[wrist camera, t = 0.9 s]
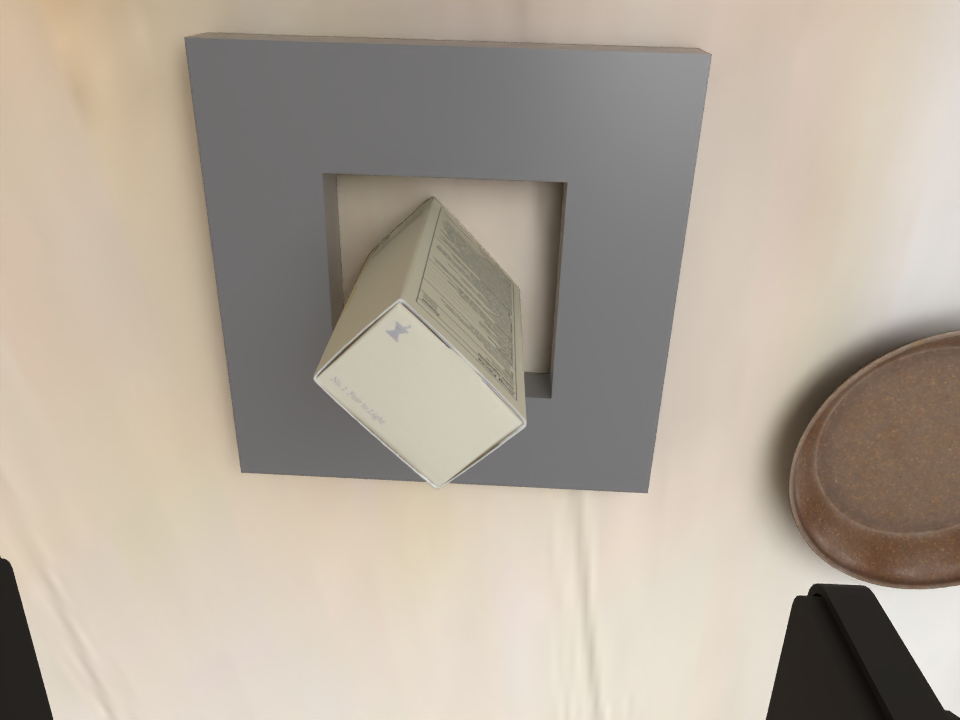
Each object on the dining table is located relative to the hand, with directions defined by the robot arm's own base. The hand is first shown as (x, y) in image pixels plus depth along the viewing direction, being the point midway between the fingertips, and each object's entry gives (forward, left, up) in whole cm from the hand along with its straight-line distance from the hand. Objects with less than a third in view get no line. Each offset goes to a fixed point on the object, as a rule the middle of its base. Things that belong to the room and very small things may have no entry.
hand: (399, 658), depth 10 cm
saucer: (+13, +22, -28) cm, 38 cm away
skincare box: (+5, -2, -28) cm, 28 cm away
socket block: (+5, -2, -28) cm, 28 cm away
